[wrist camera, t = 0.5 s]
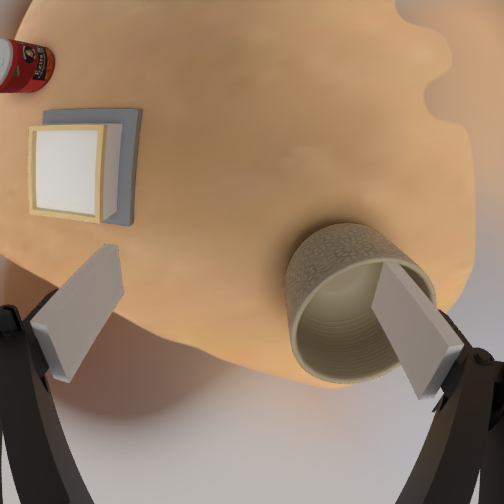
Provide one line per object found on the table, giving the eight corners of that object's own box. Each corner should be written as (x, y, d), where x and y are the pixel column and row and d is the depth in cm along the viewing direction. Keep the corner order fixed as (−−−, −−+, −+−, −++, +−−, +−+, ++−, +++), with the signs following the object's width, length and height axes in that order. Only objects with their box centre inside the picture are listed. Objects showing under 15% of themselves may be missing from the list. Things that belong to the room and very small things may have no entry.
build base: (49, 110, 34) (20, 112, 28) (142, 109, 35) (121, 107, 28) (47, 211, 40) (21, 225, 34) (133, 223, 41) (113, 241, 35)
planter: (330, 186, 39) (371, 223, 25) (408, 254, 43) (459, 307, 29) (256, 279, 45) (257, 349, 31) (338, 329, 49) (362, 398, 35)
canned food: (58, 79, 32) (11, 75, 22) (23, 101, 33) (-24, 104, 23) (53, 38, 29) (9, 26, 19) (18, 61, 30) (-27, 57, 20)
